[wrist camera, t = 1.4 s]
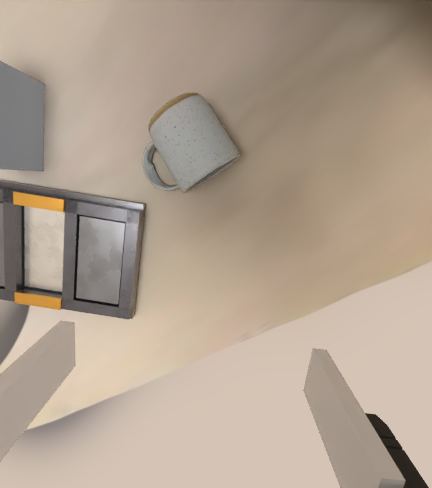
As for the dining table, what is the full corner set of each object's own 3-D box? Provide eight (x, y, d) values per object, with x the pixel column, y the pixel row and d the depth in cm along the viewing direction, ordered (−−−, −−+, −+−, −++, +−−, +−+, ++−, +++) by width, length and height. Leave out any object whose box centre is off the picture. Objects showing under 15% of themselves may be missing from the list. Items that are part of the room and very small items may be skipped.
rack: (-42, 173, 35) (-64, 172, 32) (145, 203, 35) (139, 205, 32) (-35, 288, 38) (-54, 297, 36) (134, 315, 39) (127, 325, 36)
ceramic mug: (202, 98, 32) (195, 75, 25) (239, 158, 34) (243, 154, 26) (132, 151, 34) (105, 144, 26) (170, 206, 35) (155, 214, 28)
